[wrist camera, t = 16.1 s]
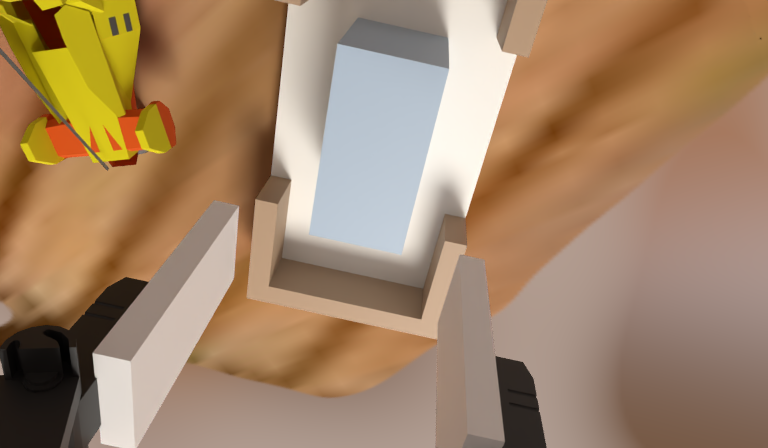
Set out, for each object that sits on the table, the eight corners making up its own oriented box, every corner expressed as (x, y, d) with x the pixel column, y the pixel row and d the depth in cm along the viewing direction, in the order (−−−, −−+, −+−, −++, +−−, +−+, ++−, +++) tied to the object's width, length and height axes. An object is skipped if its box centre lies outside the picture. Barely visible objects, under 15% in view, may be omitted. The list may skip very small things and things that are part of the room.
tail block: (358, 17, 27) (337, 43, 22) (448, 37, 27) (449, 69, 22) (331, 180, 31) (308, 234, 26) (408, 197, 31) (401, 255, 26)
